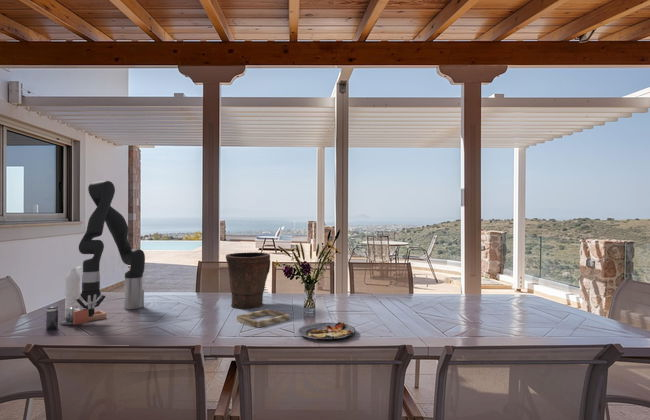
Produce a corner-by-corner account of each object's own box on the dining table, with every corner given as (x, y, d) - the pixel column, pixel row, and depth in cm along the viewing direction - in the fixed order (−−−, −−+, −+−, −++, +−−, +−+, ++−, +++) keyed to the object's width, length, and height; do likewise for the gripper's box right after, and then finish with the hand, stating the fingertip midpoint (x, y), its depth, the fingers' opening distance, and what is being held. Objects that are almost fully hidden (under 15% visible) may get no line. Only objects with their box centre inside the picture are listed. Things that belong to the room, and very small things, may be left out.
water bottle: (73, 317, 199) (73, 268, 199) (61, 317, 200) (62, 268, 200) (85, 313, 207) (86, 266, 208) (74, 312, 208) (75, 266, 209)
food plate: (352, 326, 183) (352, 318, 183) (358, 342, 160) (358, 333, 160) (299, 328, 182) (299, 320, 182) (297, 344, 159) (297, 336, 159)
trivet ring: (268, 313, 208) (268, 308, 208) (290, 319, 196) (290, 314, 196) (235, 320, 193) (235, 315, 193) (257, 327, 180) (257, 322, 180)
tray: (100, 315, 204) (100, 310, 204) (106, 318, 197) (106, 313, 197) (80, 318, 197) (80, 313, 197) (86, 321, 191) (86, 316, 191)
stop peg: (56, 327, 181) (56, 305, 181) (59, 329, 178) (59, 307, 178) (45, 329, 178) (45, 307, 178) (47, 331, 175) (47, 308, 175)
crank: (62, 320, 188) (62, 308, 188) (75, 318, 193) (76, 306, 193) (74, 324, 181) (75, 311, 181) (88, 321, 186) (88, 309, 186)
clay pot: (282, 302, 234) (282, 252, 234) (248, 312, 209) (248, 256, 210) (251, 297, 247) (251, 250, 248) (216, 306, 223) (216, 254, 223)
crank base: (79, 319, 195) (79, 317, 195) (84, 322, 189) (84, 320, 189) (58, 322, 189) (58, 320, 189) (63, 326, 183) (63, 324, 183)
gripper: (103, 278, 197) (102, 312, 197) (73, 281, 187) (72, 317, 187) (108, 279, 192) (108, 315, 192) (77, 283, 182) (77, 320, 182)
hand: (90, 316), depth 189 cm, fingers closed
